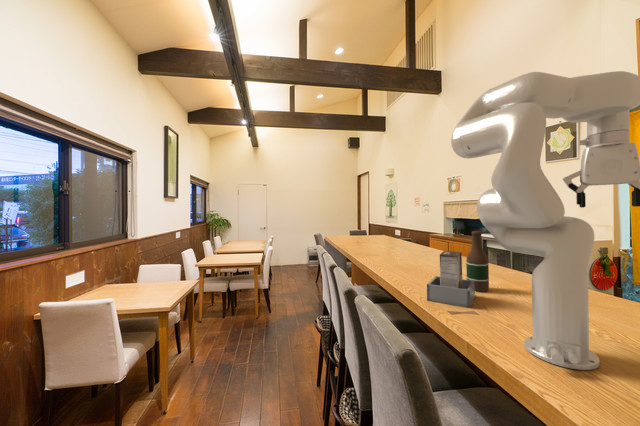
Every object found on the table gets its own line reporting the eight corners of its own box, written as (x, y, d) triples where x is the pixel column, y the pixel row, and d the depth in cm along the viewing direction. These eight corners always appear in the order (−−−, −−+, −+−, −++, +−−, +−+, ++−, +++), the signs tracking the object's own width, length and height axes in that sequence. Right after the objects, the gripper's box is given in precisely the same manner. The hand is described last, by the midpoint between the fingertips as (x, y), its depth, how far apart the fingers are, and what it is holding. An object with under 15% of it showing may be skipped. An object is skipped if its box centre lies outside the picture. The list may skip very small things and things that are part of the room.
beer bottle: (462, 288, 110) (461, 231, 109) (476, 285, 112) (475, 230, 112) (478, 293, 102) (477, 232, 102) (493, 291, 105) (492, 231, 104)
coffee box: (444, 291, 103) (443, 250, 103) (463, 294, 99) (462, 251, 99) (439, 298, 96) (438, 254, 95) (459, 301, 92) (458, 255, 92)
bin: (470, 308, 88) (469, 290, 88) (427, 300, 96) (426, 284, 96) (474, 296, 99) (474, 280, 99) (435, 290, 107) (435, 276, 107)
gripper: (564, 144, 70) (565, 207, 71) (667, 131, 60) (667, 206, 60) (560, 149, 76) (561, 207, 77) (652, 138, 66) (653, 205, 66)
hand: (608, 206), depth 68 cm, fingers open, 9 cm apart
